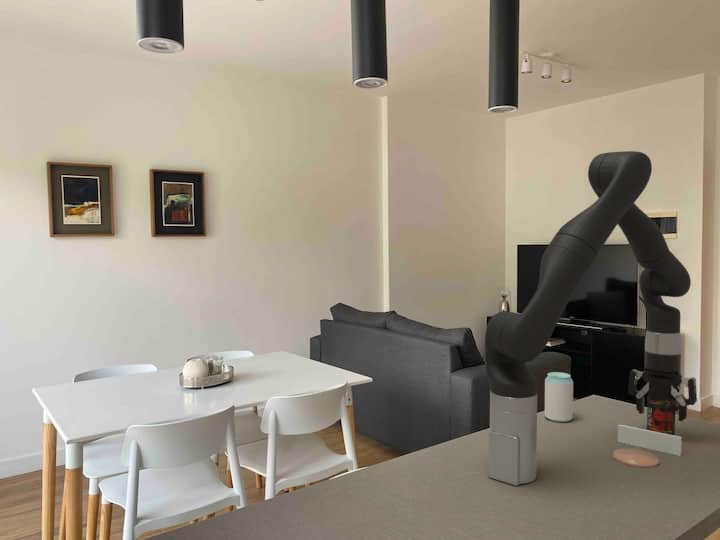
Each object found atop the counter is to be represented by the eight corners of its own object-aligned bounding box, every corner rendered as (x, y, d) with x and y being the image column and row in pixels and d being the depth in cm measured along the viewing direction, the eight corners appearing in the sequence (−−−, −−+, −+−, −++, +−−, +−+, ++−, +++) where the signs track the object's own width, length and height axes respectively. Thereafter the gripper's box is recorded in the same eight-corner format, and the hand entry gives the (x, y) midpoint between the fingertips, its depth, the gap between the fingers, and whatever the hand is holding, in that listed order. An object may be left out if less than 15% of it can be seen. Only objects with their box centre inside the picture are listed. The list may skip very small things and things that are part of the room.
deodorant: (640, 435, 134) (642, 374, 133) (658, 431, 136) (659, 372, 135) (662, 443, 128) (664, 380, 127) (680, 439, 130) (682, 377, 130)
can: (573, 424, 142) (573, 378, 141) (544, 421, 144) (545, 376, 143) (572, 416, 148) (572, 372, 148) (544, 413, 151) (545, 370, 150)
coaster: (653, 471, 113) (653, 468, 113) (607, 460, 119) (607, 457, 119) (663, 458, 120) (663, 455, 120) (620, 447, 126) (620, 445, 126)
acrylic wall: (680, 455, 121) (680, 438, 121) (617, 441, 129) (618, 425, 129) (681, 454, 122) (681, 436, 121) (618, 440, 130) (619, 424, 130)
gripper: (626, 348, 133) (624, 414, 134) (693, 356, 123) (692, 427, 124) (634, 344, 138) (633, 407, 139) (700, 351, 129) (698, 419, 130)
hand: (661, 416), depth 132 cm, fingers open, 8 cm apart
